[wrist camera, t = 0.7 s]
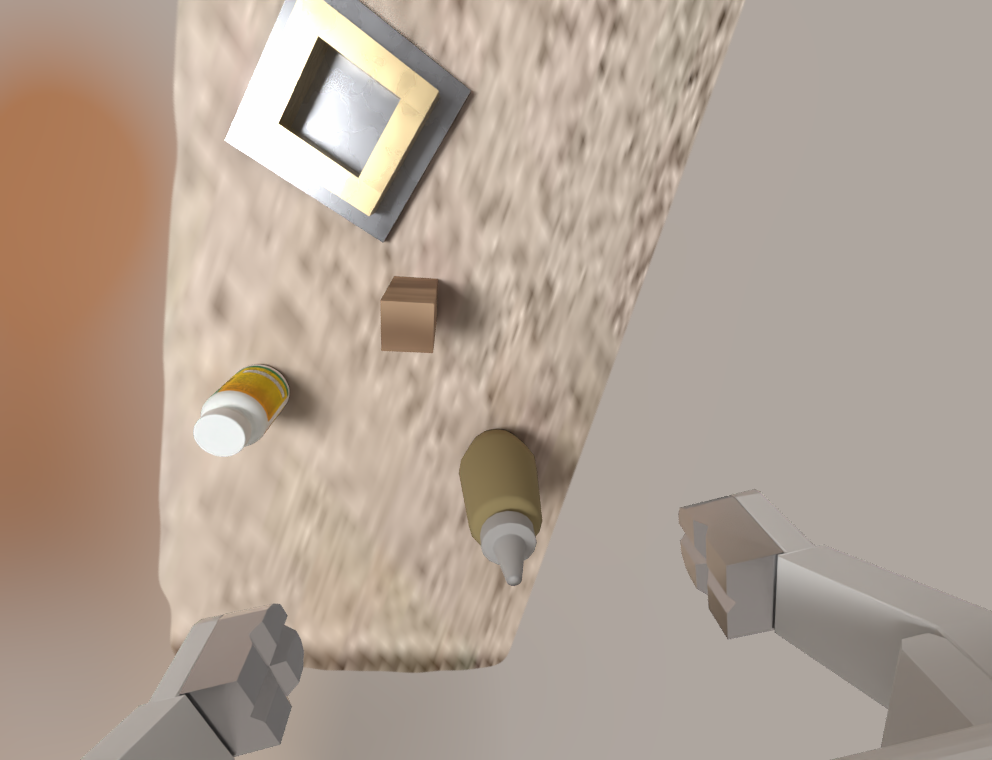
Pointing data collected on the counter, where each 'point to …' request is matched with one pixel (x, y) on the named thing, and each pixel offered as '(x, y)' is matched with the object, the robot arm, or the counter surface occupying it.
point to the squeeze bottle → (502, 499)
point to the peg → (409, 315)
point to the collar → (346, 110)
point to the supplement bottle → (241, 410)
